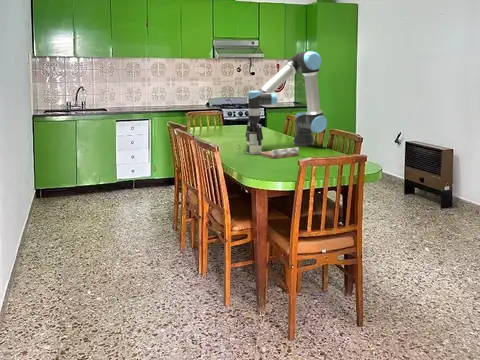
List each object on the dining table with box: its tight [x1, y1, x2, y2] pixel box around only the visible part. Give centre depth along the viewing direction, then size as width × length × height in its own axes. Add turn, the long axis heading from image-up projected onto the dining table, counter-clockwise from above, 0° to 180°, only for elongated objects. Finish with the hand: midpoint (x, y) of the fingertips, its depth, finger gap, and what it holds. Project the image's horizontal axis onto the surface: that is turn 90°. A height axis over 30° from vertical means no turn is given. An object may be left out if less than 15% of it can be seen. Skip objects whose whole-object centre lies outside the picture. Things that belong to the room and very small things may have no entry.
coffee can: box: [245, 130, 263, 155], centre depth 327 cm, size 10×10×14 cm
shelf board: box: [259, 146, 300, 159], centre depth 318 cm, size 20×14×5 cm
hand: (254, 149), depth 328 cm, fingers closed on coffee can, 10 cm apart
